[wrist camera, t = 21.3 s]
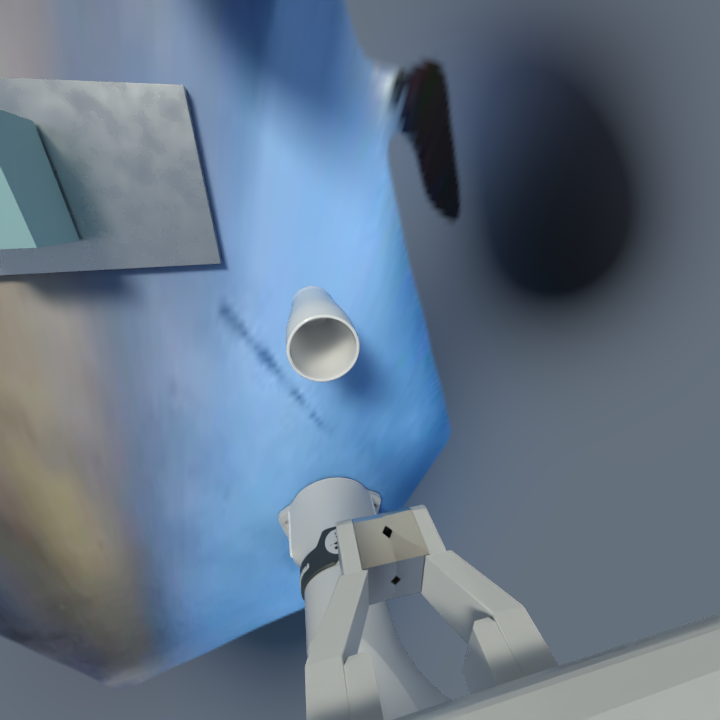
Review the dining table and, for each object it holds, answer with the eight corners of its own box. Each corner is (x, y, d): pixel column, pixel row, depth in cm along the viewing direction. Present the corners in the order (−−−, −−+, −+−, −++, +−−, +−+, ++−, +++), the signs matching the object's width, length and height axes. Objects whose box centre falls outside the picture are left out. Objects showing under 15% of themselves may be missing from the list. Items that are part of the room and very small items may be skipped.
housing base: (222, 262, 37) (213, 269, 33) (-116, 280, 31) (-182, 291, 27) (186, 88, 30) (168, 67, 26) (-258, 71, 24) (-378, 41, 20)
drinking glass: (334, 331, 44) (355, 384, 30) (284, 327, 42) (283, 382, 29) (340, 282, 41) (366, 317, 28) (287, 275, 39) (287, 310, 26)
